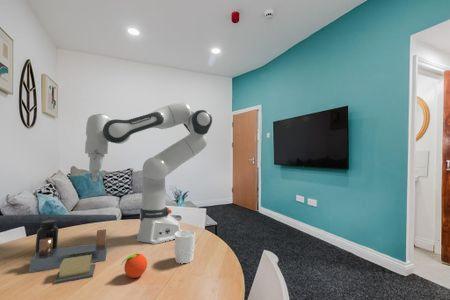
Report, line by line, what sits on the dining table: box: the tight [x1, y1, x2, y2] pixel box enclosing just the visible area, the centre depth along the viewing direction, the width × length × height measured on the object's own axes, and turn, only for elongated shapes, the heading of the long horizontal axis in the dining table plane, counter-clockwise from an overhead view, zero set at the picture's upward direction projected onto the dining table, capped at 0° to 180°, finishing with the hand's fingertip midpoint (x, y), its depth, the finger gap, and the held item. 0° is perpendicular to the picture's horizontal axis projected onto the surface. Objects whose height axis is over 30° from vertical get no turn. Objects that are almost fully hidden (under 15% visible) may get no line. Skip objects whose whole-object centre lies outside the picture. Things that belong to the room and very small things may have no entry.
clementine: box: [121, 253, 148, 279], centre depth 70 cm, size 8×7×7 cm
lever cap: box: [58, 255, 93, 279], centre depth 71 cm, size 8×5×4 cm, turn 116°
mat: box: [53, 263, 96, 285], centre depth 71 cm, size 10×8×1 cm
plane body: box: [29, 228, 108, 273], centre depth 79 cm, size 22×8×10 cm, turn 116°
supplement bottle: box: [34, 219, 59, 254], centre depth 87 cm, size 7×7×12 cm
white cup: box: [174, 229, 196, 265], centre depth 82 cm, size 8×8×10 cm
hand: (95, 180), depth 97 cm, fingers open, 8 cm apart
